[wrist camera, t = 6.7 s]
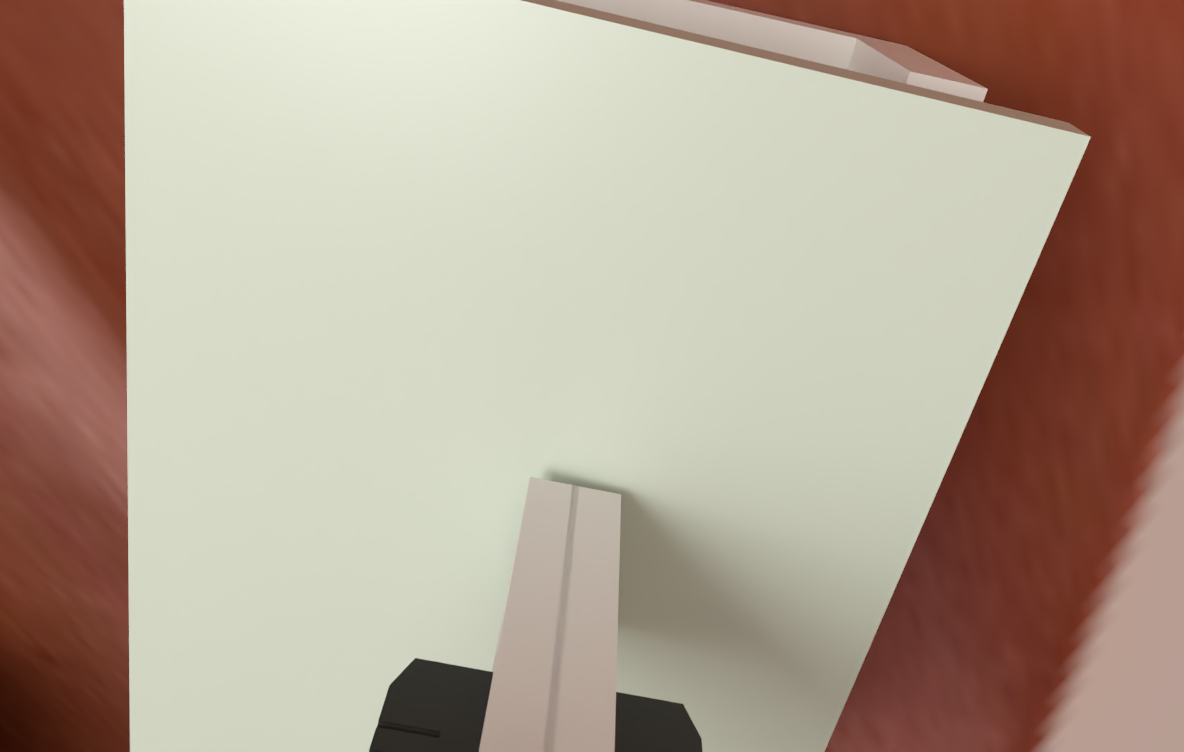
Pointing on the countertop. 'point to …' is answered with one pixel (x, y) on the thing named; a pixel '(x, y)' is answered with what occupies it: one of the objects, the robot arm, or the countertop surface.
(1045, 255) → the countertop surface
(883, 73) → the cable duct
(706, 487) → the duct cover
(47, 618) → the countertop surface
